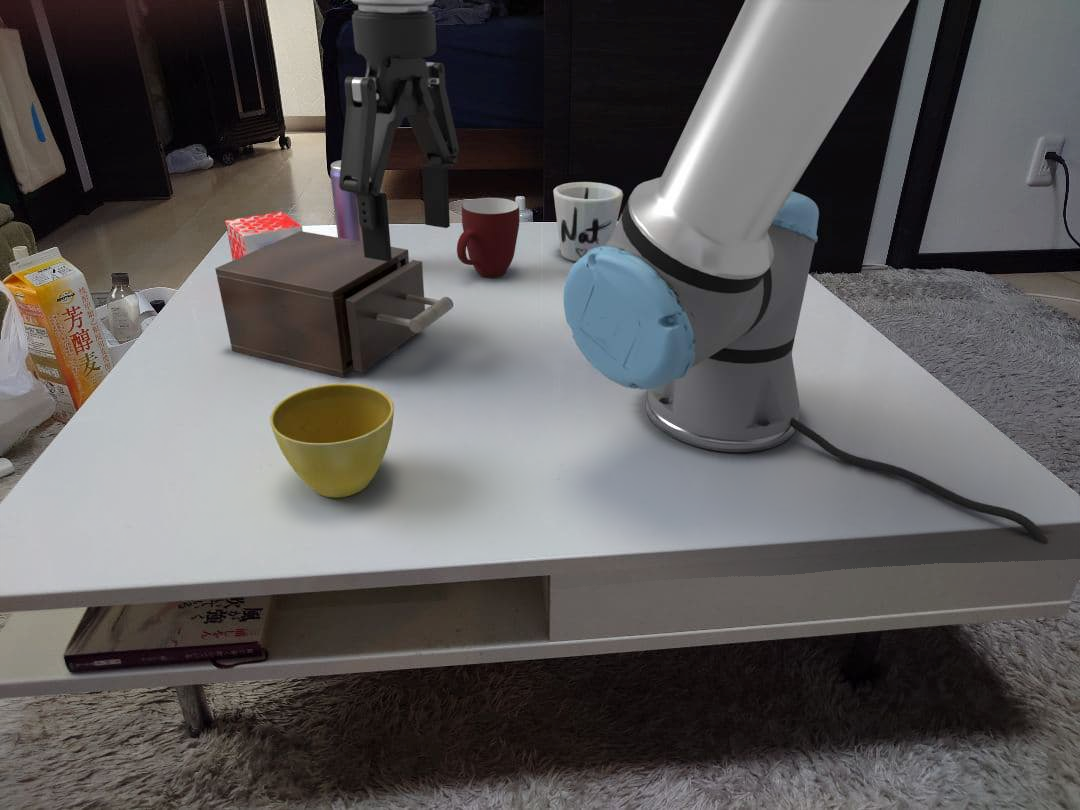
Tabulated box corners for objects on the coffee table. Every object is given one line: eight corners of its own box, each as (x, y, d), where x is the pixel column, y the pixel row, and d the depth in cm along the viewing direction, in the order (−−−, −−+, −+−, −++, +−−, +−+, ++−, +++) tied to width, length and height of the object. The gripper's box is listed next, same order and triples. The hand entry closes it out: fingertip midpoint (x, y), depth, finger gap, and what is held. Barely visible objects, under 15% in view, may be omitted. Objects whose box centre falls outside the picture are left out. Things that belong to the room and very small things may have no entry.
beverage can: (341, 276, 111) (329, 169, 103) (341, 262, 116) (329, 159, 108) (384, 273, 112) (374, 168, 104) (381, 259, 117) (372, 158, 109)
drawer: (468, 334, 93) (466, 268, 88) (408, 383, 82) (403, 311, 78) (328, 305, 99) (320, 243, 95) (256, 347, 89) (243, 279, 84)
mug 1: (489, 293, 106) (488, 222, 101) (442, 281, 110) (438, 212, 104) (529, 270, 114) (530, 203, 109) (484, 260, 117) (483, 194, 112)
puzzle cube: (289, 264, 114) (281, 211, 110) (309, 280, 109) (302, 225, 105) (235, 275, 110) (224, 220, 106) (253, 292, 105) (242, 236, 101)
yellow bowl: (388, 440, 74) (381, 375, 70) (410, 502, 66) (405, 431, 62) (278, 460, 71) (265, 392, 67) (288, 527, 63) (274, 454, 59)
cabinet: (413, 327, 96) (408, 249, 91) (343, 378, 85) (332, 292, 79) (311, 305, 101) (300, 230, 96) (231, 350, 90) (214, 268, 85)
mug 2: (547, 264, 116) (549, 197, 111) (558, 233, 129) (560, 172, 124) (616, 268, 115) (621, 201, 110) (621, 237, 128) (625, 176, 123)
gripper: (424, 0, 81) (434, 207, 92) (273, 13, 62) (309, 271, 73) (488, 3, 79) (491, 216, 90) (351, 18, 60) (376, 284, 71)
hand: (409, 241), depth 82 cm, fingers open, 11 cm apart
